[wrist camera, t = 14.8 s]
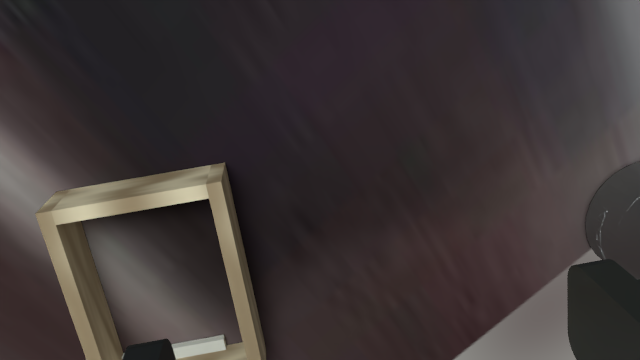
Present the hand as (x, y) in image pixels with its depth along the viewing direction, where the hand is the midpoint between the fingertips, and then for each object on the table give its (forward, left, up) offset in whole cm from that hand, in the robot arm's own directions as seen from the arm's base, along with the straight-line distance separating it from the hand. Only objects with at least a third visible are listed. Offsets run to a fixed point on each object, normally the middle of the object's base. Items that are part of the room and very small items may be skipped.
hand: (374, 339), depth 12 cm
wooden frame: (+12, +13, -30) cm, 35 cm away
